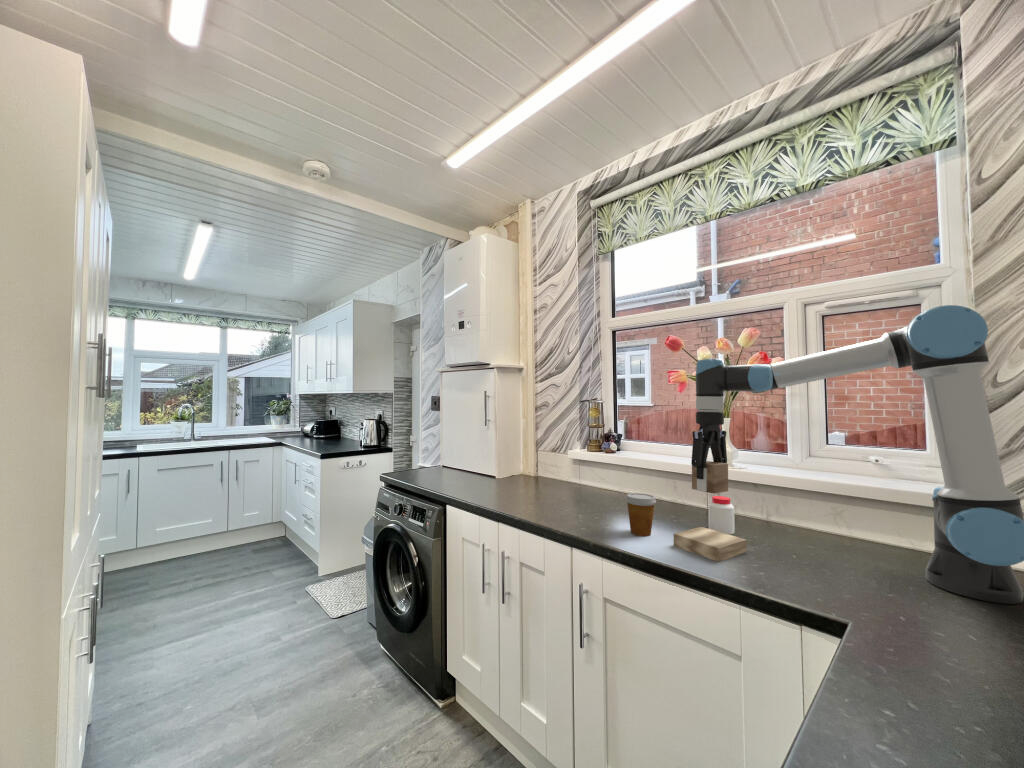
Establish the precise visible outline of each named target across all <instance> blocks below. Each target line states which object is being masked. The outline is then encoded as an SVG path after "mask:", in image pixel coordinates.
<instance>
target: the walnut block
mask: <svg viewBox="0 0 1024 768" xmlns="http://www.w3.org/2000/svg"><path fill="white" fill-rule="evenodd" d="M705 468H707V491H703V492H705V493H709V494H721V493H724V492H725V493H726V492H729V463H728V462H727V463H720V462H714V461H712V460H706V465H705ZM691 490H695V491H701V490H697V468H696V467H693V465H692V464H691ZM701 492H702V491H701Z"/></svg>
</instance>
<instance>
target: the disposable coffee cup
mask: <svg viewBox="0 0 1024 768" xmlns="http://www.w3.org/2000/svg"><path fill="white" fill-rule="evenodd" d="M625 500H626V503H627V511H628V519H629V528H630V533H631V534H632V535H634V536H639V537H649V536H651V535H652V528H653V520H654V515H655V513H654V512H655V505H656V503H657V500H656V498H655V496H654V495H652V494H647V493H641V492H640V493H639V492H633V493H628V494H627V495H626V498H625Z"/></svg>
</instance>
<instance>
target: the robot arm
mask: <svg viewBox="0 0 1024 768" xmlns="http://www.w3.org/2000/svg"><path fill="white" fill-rule="evenodd" d="M988 335H989V329H988V325H987V322H986V320H985V318H984V316H982V315H981V314H980V313H979V312H977V311H976V310H974V309H972V308H969V307H966V306H962V305H956V304H955V305H954V304H953V305H951V304H950V305H948V304H946V305H939V306H935V307H931V308H929V309H927V310H924V311H922V312H921V313H919V314H917V315H915V317H913V319H911V320H910V322H909V323H908V325H907V326H904V327H902V328H899V329H896V330H893V331H888V332H884V333H883V335H882V336H881V337H879V338H876V339H872V340H868V341H863V342H859V343H855V344H851V345H846V346H843V347H838V348H834V349H830V350H826V351H821V352H817V353H812V354H807V355H805V356H800V357H796V358H791V359H788V360H784V361H778V362H775V363H771V364H768V363H767V364H765V363H764V364H761V363H760V364H759V363H754V364H738V365H737V364H735V365H727V364H725V362H724V359H721V358H704V359H703V358H702V359H699V360H698V361H697V362H696V365H695V396H696V397H695V410H696V412H695V423H696V424H697V425H699V428H698V430H697V431H696V430H693V431H692V447H691V448H692V449H691V462H690V463H691V466H692V465H693V467H696V468H697V490H696V491H699V490H701V492H704V491H707V468H705V465H706V461H708V460H707V459H708V454H709V451H710V452H711V456H712V460H713V462H720V463H727V464H728V453H727V441H726V440H727V431H726V430H721V427H720V426H721V425H724V423H725V413H724V412H723V411H725V398H724V397H725V392H750V393H753V394H762V393H765V392H769V391H772V390H777V389H781V388H782V389H783V388H785V387H791V386H796V385H801V384H806V383H810V382H816V381H821V380H825V379H826V380H827V379H830V378H835V377H841V376H847V375H852V374H854V373H855V374H856V373H861V372H866V371H867V372H868V371H871V370H876V369H879V368H880V369H882V368H885V367H892V368H894V369H901V368H902V369H903V368H905V367H911V369H912V373H914V374H916V375H917V376H919V377H921V378H922V379H923V382H924V383H923V384H924V388H925V392H926V399H927V402H928V407H929V412H930V416H931V421H932V427H933V431H934V437H935V442H936V447H937V452H938V456H939V461H940V467H941V470H942V476H943V482H944V485H943V486H939V487H935V488H934V489H933V493H932V495H933V496H932V497H931V498H932V501H933V528H934V529H933V530H934V532H933V534H934V535H933V537H934V549H933V551H932V554H931V555H930V558H929V561H928V563H927V564H926V567H925V570H924V571H925V575H924V576H925V580H926V581H927V582H928V583H930V584H931V585H933V586H935V587H938V588H940V589H943V590H945V591H947V592H951V593H953V594H957V595H959V596H963V597H968V598H970V599H976V600H980V601H985V602H991V603H995V604H996V603H998V604H1006V605H1014V604H1015V605H1017V604H1023V602H1024V591H1023V588H1022V586H1021V584H1020V581H1019V580H1018V578H1017V576H1016V574H1015V571H1014V570H1013V567H1012V566H1014V565H1018V564H1020V563H1022V562H1024V513H1023V508H1022V505H1021V501H1020V496H1019V495H1018V494H1017V493H1015V492H1013V491H1012V490H1010V489H1009V488H1007V487H1006V484H1005V479H1004V475H1003V471H1002V470H1003V469H1002V466H1001V461H1000V456H999V452H998V448H997V443H996V439H995V434H994V430H993V425H992V421H991V415H990V412H989V406H988V402H987V397H986V393H985V388H984V383H983V379H982V375H981V373H982V370H984V369H985V368H986V367H987V366H988V365H989V364H990V360H989V356H988V351H987V346H986V341H987V338H988Z"/></svg>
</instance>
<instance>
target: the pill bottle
mask: <svg viewBox="0 0 1024 768" xmlns="http://www.w3.org/2000/svg"><path fill="white" fill-rule="evenodd" d="M707 508H708V529H711V530H715V531H718V532H722V533H725V534H729V535H733V534H735V506H734V505H733V504H732V503H731V498H730V497H727V496H722V495H713V496H711V501H710V502H708V507H707Z"/></svg>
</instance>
